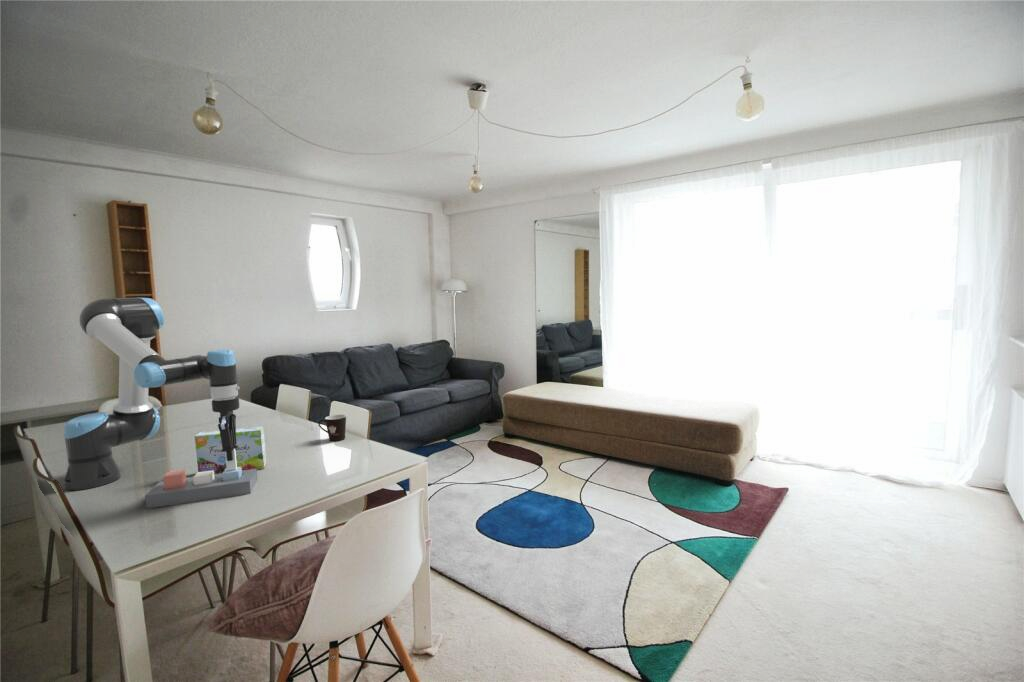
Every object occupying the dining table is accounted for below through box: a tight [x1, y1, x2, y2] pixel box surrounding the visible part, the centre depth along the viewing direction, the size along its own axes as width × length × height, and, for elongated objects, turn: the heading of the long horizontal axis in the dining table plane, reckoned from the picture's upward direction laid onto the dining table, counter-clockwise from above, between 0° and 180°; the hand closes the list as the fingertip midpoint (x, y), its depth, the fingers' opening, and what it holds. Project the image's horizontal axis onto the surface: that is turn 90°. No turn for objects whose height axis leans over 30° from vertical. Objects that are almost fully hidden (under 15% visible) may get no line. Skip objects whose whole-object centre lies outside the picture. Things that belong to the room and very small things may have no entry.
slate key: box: [222, 467, 242, 481], centre depth 157 cm, size 5×5×4 cm
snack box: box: [194, 426, 268, 474], centre depth 175 cm, size 21×6×15 cm, turn 105°
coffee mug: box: [318, 414, 347, 443], centre depth 210 cm, size 12×9×10 cm
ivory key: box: [192, 470, 215, 485], centre depth 155 cm, size 5×5×4 cm
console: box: [145, 469, 258, 509], centre depth 155 cm, size 28×12×4 cm, turn 109°
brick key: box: [162, 468, 187, 489], centre depth 152 cm, size 5×5×4 cm
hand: (231, 469), depth 157 cm, fingers closed
